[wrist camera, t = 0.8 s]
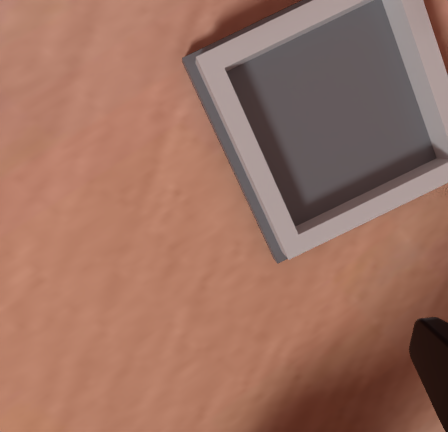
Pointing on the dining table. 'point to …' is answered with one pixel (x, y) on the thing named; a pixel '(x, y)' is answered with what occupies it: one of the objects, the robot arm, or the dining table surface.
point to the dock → (328, 115)
